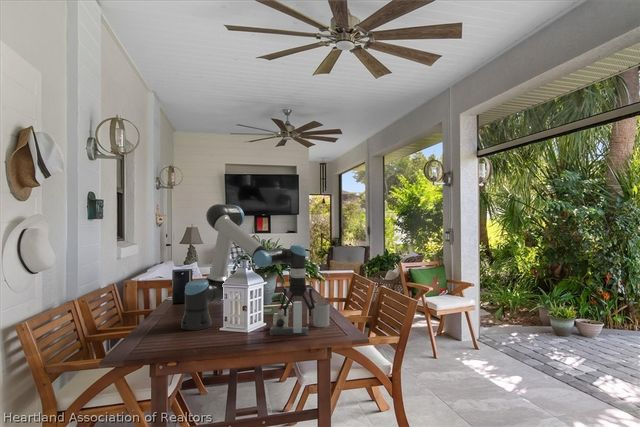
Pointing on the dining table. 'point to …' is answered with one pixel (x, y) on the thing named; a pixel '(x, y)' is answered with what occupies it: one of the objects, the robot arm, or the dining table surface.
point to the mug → (321, 315)
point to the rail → (287, 331)
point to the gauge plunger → (280, 311)
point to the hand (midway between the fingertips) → (297, 322)
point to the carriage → (297, 317)
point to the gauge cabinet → (279, 321)
